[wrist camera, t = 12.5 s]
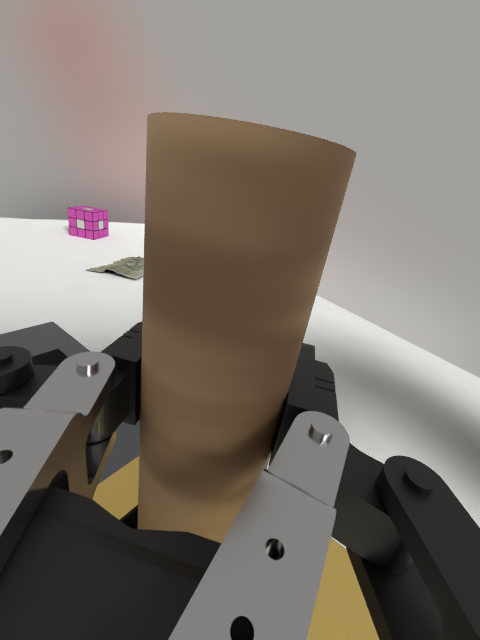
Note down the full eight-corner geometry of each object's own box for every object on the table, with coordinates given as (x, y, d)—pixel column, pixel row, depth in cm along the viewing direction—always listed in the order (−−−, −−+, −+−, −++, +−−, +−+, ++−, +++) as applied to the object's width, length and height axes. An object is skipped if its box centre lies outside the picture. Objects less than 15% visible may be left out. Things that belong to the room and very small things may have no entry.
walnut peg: (187, 506, 15) (236, 146, 9) (251, 568, 13) (381, 164, 7) (115, 577, 12) (101, 108, 6) (183, 670, 10) (292, 119, 4)
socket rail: (71, 356, 28) (67, 314, 27) (367, 611, 15) (402, 562, 13) (-99, 414, 20) (-122, 360, 18) (215, 1131, 6) (252, 1206, 4)
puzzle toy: (108, 236, 70) (108, 210, 68) (93, 240, 65) (92, 212, 63) (86, 231, 71) (84, 205, 69) (69, 235, 66) (67, 207, 63)
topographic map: (168, 263, 60) (168, 255, 60) (136, 281, 48) (136, 271, 47) (104, 252, 61) (104, 244, 61) (57, 267, 49) (56, 257, 48)
